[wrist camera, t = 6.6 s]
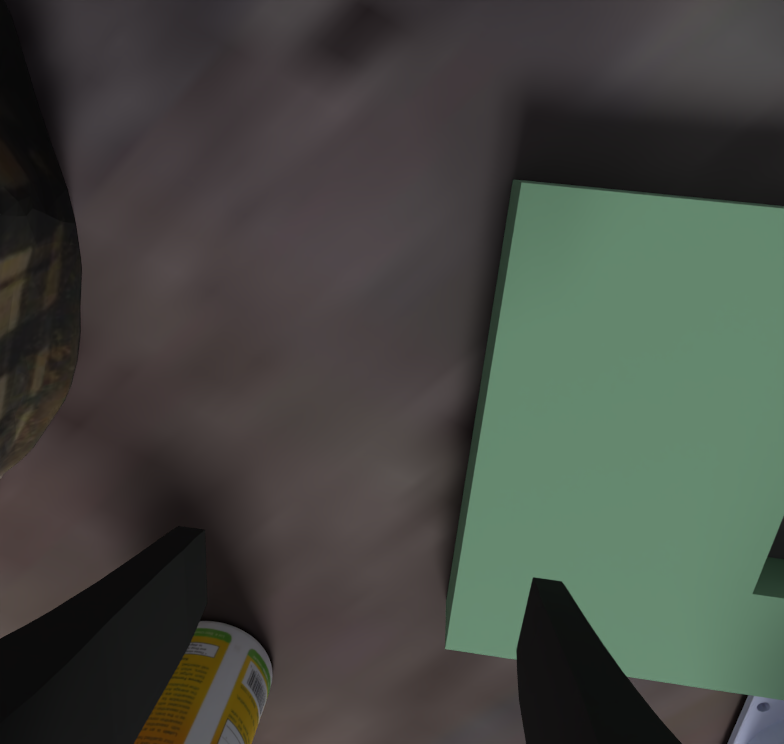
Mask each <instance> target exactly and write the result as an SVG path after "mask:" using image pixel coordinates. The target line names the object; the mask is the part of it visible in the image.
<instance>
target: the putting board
mask: <svg viewBox="0 0 784 744" xmlns="http://www.w3.org/2000/svg"><path fill="white" fill-rule="evenodd" d="M533 577H535V578H542V579H549V580H556V581H562V582H563V584H564V585H565V586H566V588H567V589H568V591H569V592H570V594H571V596H572V597H573V599H574V600H575V602H576V603H577V605H578V607H579V608H580V610H581V611H582V613H583V614H584V616H585V617H586V619H587V620H588V622H589V623H590V625H591V627H592V628H593V630H594V631H595V633H596V634H597V636H598V637H599V638H600V640H601V641H602V643H603V644H604V646H605V647H606V649H607V650H608V651H609V653H610V654H611V656H612V657H613V658H614V660H615V661H616V663H617V664H618V665H619V667H620V668H621V670H622V671H623V672H624V674H625V675H626V676H627V677H633V678H640V679H646V680H653V681H660V682H666V683H673V684H679V685H686V686H692V687H699V688H705V689H712V690H719V691H725V692H732V693H738V694H745V695H751V696H758V697H764V698H771V699H778V700H784V206H778V205H767V204H757V203H747V202H737V201H727V200H717V199H707V198H697V197H686V196H676V195H666V194H656V193H646V192H636V191H626V190H616V189H606V188H595V187H585V186H575V185H565V184H555V183H545V182H535V181H525V180H514V179H513V182H512V189H511V195H510V201H509V208H508V214H507V220H506V227H505V233H504V239H503V246H502V252H501V258H500V265H499V271H498V277H497V283H496V290H495V296H494V302H493V309H492V315H491V321H490V328H489V334H488V340H487V347H486V353H485V359H484V366H483V372H482V378H481V385H480V391H479V397H478V403H477V410H476V416H475V422H474V429H473V435H472V441H471V448H470V454H469V460H468V467H467V473H466V479H465V486H464V492H463V498H462V505H461V511H460V517H459V523H458V530H457V536H456V542H455V549H454V555H453V561H452V568H451V574H450V580H449V587H448V593H447V599H446V634H445V649H450V650H456V651H463V652H469V653H476V654H483V655H489V656H496V657H502V658H509V659H515V660H517V654H516V649H517V644H518V640H519V636H520V631H521V627H522V623H523V618H524V614H525V609H526V605H527V601H528V596H529V592H530V588H531V583H532V579H533Z"/></svg>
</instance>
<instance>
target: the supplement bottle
mask: <svg viewBox="0 0 784 744" xmlns="http://www.w3.org/2000/svg"><path fill="white" fill-rule="evenodd" d="M271 683H272V665H271V662H270V659H269V657H268V655H267V653H266V651H265V650H264V648H263V647H262V646H261V644H260V643H259V642H258V641H257V640H256V639H255V638H253V637H252V636H251V635H249V634H248V633H246V632H244V631H243V630H241V629H239V628H236V627H234V626H231V625H228V624H225V623H221V622H214V621H200V622H199V624H198V627H197V629H196V631H195V633H194V636H193V638H192V640H191V643H190V645H189V647H188V649H187V651H186V653H185V654H184V656H183V658H182V660H181V662H180V663H179V665H178V667H177V669H176V670H175V672H174V674H173V676H172V678H171V679H170V681H169V683H168V685H167V686H166V688H165V690H164V692H163V693H162V695H161V697H160V699H159V700H158V702H157V704H156V706H155V707H154V709H153V711H152V713H151V714H150V716H149V718H148V720H147V721H146V723H145V725H144V726H143V728H142V730H141V732H140V733H139V735H138V737H137V739H136V740H135V742H134V744H252V741H253V738H254V735H255V732H256V729H257V726H258V723H259V720H260V717H261V715H262V712H263V709H264V706H265V703H266V700H267V697H268V694H269V690H270V687H271Z"/></svg>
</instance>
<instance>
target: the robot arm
mask: <svg viewBox="0 0 784 744" xmlns="http://www.w3.org/2000/svg"><path fill="white" fill-rule="evenodd" d="M206 604H207V579H206V546H205V530H202V529H195V528H188V527H181V526H178V527H176V528H175V529H173V530H172V531H170V532H169V533H167V534H166V535H165V536H163V537H162V538H160V539H159V540H157V541H156V542H155V543H153V544H152V545H150V546H149V547H148V548H146V549H145V550H143V551H142V552H140V553H139V554H138V555H136V556H135V557H133V558H132V559H130V560H129V561H128V562H126V563H125V564H123V565H122V566H120V567H119V568H117V569H116V570H114V571H113V572H111V573H110V574H108V575H107V576H106V577H104V578H103V579H101V580H100V581H98V582H97V583H95V584H93V585H92V586H90V587H89V588H87V589H85V590H84V591H82V592H81V593H79V594H77V595H76V596H74V597H73V598H71V599H69V600H68V601H66V602H64V603H63V604H61V605H60V606H58V607H56V608H55V609H53V610H52V611H50V612H48V613H46V614H45V615H43V616H41V617H40V618H38V619H36V620H34V621H32V622H31V623H29V624H27V625H25V626H23V627H21V628H20V629H18V630H16V631H14V632H12V633H10V634H8V635H6V636H4V637H2V638H1V639H0V744H134V742H135V740H136V739H137V737H138V735H139V733H140V732H141V730H142V728H143V726H144V725H145V723H146V721H147V720H148V718H149V716H150V714H151V713H152V711H153V709H154V707H155V706H156V704H157V702H158V700H159V699H160V697H161V695H162V693H163V692H164V690H165V688H166V686H167V685H168V683H169V681H170V679H171V678H172V676H173V674H174V672H175V670H176V669H177V667H178V665H179V663H180V662H181V660H182V658H183V656H184V654H185V653H186V651H187V649H188V647H189V645H190V643H191V640H192V638H193V636H194V633H195V631H196V629H197V627H198V624H199V622H200V619H201V617H202V614H203V612H204V609H205V607H206ZM516 654H517V675H518V691H519V702H520V708H521V715H522V721H523V727H524V733H525V739H526V744H682V743H681V742H680V741H679V740H678V739H677V738H676V737H675V736H674V734H673V733H672V732H671V731H670V730H669V729H668V728H667V727H666V726H665V724H664V723H663V722H662V721H661V720H660V718H659V717H658V716H657V715H656V714H655V712H654V711H653V710H652V709H651V707H650V706H649V705H648V704H647V702H646V701H645V700H644V699H643V697H642V696H641V695H640V693H639V692H638V691H637V690H636V688H635V687H634V686H633V684H632V683H631V682H630V680H629V679H628V678H627V676H626V675H625V674H624V672H623V671H622V670H621V668H620V667H619V665H618V664H617V663H616V661H615V660H614V658H613V657H612V656H611V654H610V653H609V651H608V650H607V649H606V647H605V646H604V644H603V643H602V641H601V640H600V638H599V637H598V636H597V634H596V633H595V631H594V630H593V628H592V627H591V625H590V623H589V622H588V620H587V619H586V617H585V616H584V614H583V613H582V611H581V610H580V608H579V607H578V605H577V603H576V602H575V600H574V599H573V597H572V596H571V594H570V592H569V591H568V589H567V588H566V586H565V585H564V584H563V582H562V581H556V580H549V579H542V578H535V577H533V579H532V583H531V588H530V592H529V596H528V601H527V605H526V609H525V614H524V618H523V623H522V627H521V631H520V636H519V640H518V644H517V649H516ZM727 744H784V700H778V699H771V698H764V697H758V696H751V695H748V697H747V699H746V702H745V704H744V706H743V709H742V711H741V713H740V715H739V718H738V720H737V722H736V725H735V727H734V729H733V732H732V734H731V736H730V739H729V741H728V743H727Z"/></svg>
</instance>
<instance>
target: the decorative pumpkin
mask: <svg viewBox="0 0 784 744" xmlns="http://www.w3.org/2000/svg"><path fill="white" fill-rule="evenodd" d="M81 271H82V268H81V260H80V252H79V245H78V238H77V231H76V224H75V220H74V216H73V211H72V207H71V203H70V199H69V195H68V190H67V187H66V184H65V181H64V179H63V176H62V173H61V170H60V167H59V165H58V162H57V159H56V156H55V153H54V151H53V148H52V145H51V142H50V139H49V136H48V133H47V130H46V127H45V124H44V121H43V118H42V115H41V112H40V109H39V106H38V103H37V100H36V97H35V94H34V90H33V87H32V83H31V80H30V76H29V73H28V69H27V66H26V62H25V59H24V55H23V52H22V49H21V46H20V42H19V39H18V36H17V33H16V29H15V26H14V23H13V20H12V17H11V15H10V13H9V10H8V8H7V6H6V4H5V1H4V0H0V479H1V477H2V476H3V475H4V473H5V472H7V471H8V470H9V469H10V468H12V467H13V466H14V465H15V464H17V463H18V462H19V461H20V460H22V459H23V458H24V457H25V456H26V455H27V454H28V453H29V452H30V451H31V450H32V448H33V447H34V446H35V445H36V443H37V442H38V440H39V439H40V437H41V436H42V434H43V433H44V431H45V430H46V428H47V427H48V425H49V424H50V422H51V421H52V419H53V418H54V416H55V415H56V413H57V412H58V410H59V408H60V407H61V405H62V404H63V402H64V401H65V399H66V396H67V394H68V391H69V389H70V386H71V384H72V380H73V375H74V371H75V367H76V363H77V358H78V349H79V339H80V293H81Z"/></svg>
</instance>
